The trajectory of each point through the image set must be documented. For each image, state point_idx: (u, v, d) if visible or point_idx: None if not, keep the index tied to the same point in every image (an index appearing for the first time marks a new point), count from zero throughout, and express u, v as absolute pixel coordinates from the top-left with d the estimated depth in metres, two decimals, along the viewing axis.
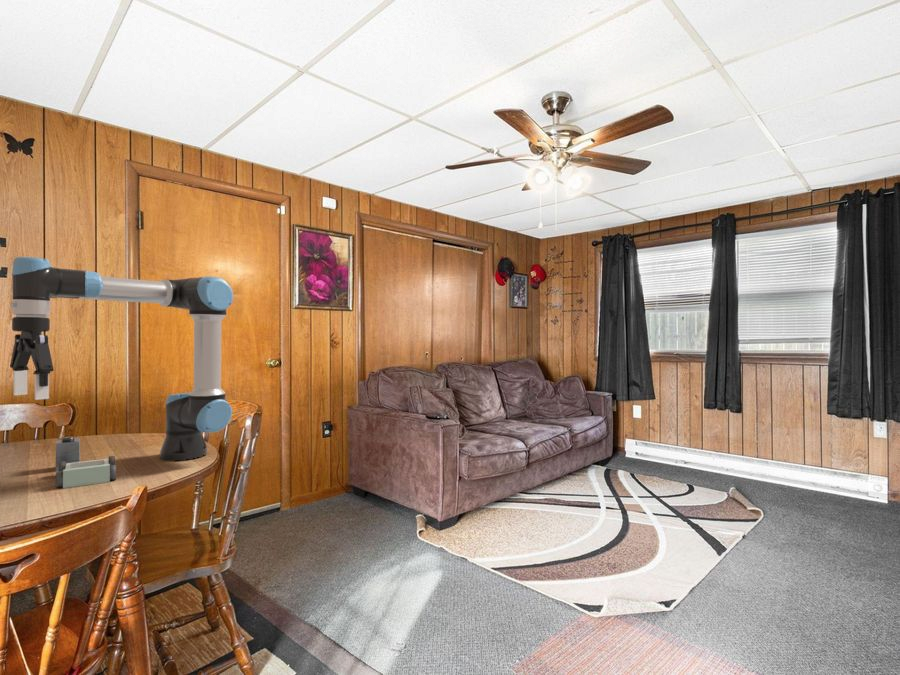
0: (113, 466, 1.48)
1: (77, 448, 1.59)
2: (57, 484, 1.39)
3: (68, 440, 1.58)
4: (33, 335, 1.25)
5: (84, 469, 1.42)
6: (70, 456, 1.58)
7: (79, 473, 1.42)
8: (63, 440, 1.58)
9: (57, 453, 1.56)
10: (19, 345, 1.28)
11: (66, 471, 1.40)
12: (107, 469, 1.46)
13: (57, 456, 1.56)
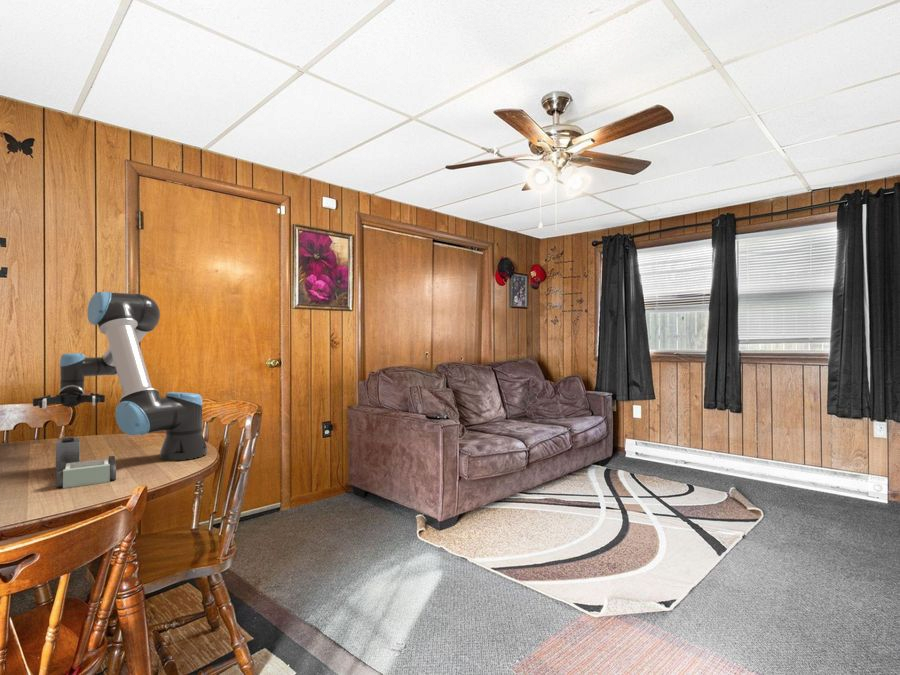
0: (113, 466, 1.48)
1: (77, 448, 1.59)
2: (57, 484, 1.39)
3: (68, 440, 1.58)
4: None
5: (84, 469, 1.42)
6: (70, 456, 1.58)
7: (79, 473, 1.42)
8: (63, 440, 1.58)
9: (57, 453, 1.56)
10: (78, 402, 1.79)
11: (66, 471, 1.40)
12: (107, 469, 1.46)
13: (57, 456, 1.56)
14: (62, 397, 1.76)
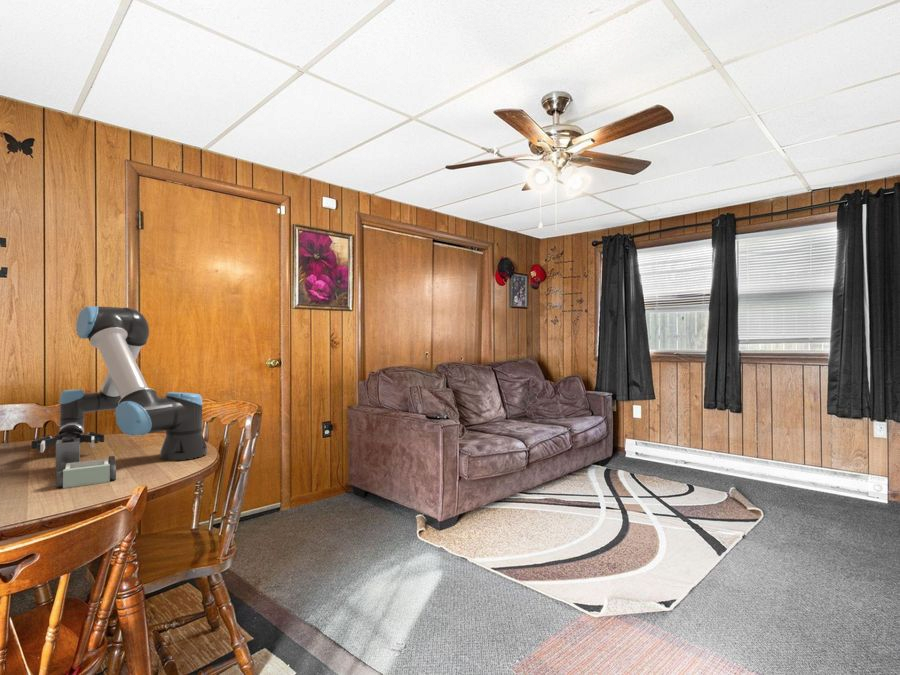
0: (113, 466, 1.48)
1: (77, 448, 1.59)
2: (57, 484, 1.39)
3: (68, 440, 1.58)
4: None
5: (84, 469, 1.42)
6: (70, 456, 1.58)
7: (79, 473, 1.42)
8: (63, 440, 1.58)
9: (57, 453, 1.56)
10: None
11: (66, 471, 1.40)
12: (107, 469, 1.46)
13: (57, 456, 1.56)
14: (61, 437, 1.74)
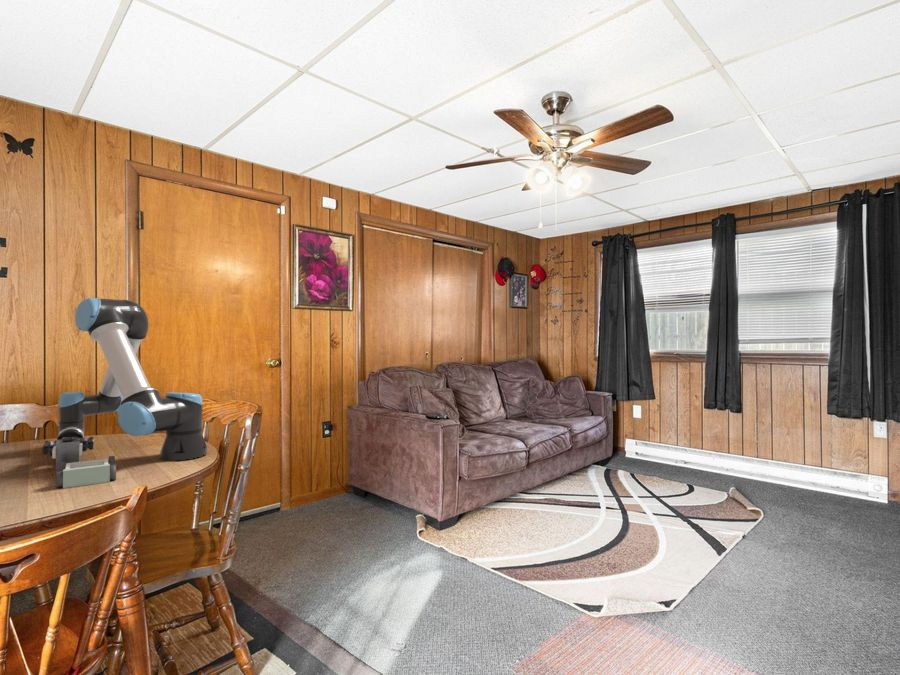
0: (113, 466, 1.48)
1: (77, 448, 1.59)
2: (57, 484, 1.39)
3: (68, 440, 1.58)
4: None
5: (84, 469, 1.42)
6: (70, 456, 1.58)
7: (79, 473, 1.42)
8: (63, 440, 1.58)
9: (57, 453, 1.56)
10: None
11: (66, 471, 1.40)
12: (107, 469, 1.46)
13: (57, 456, 1.56)
14: None
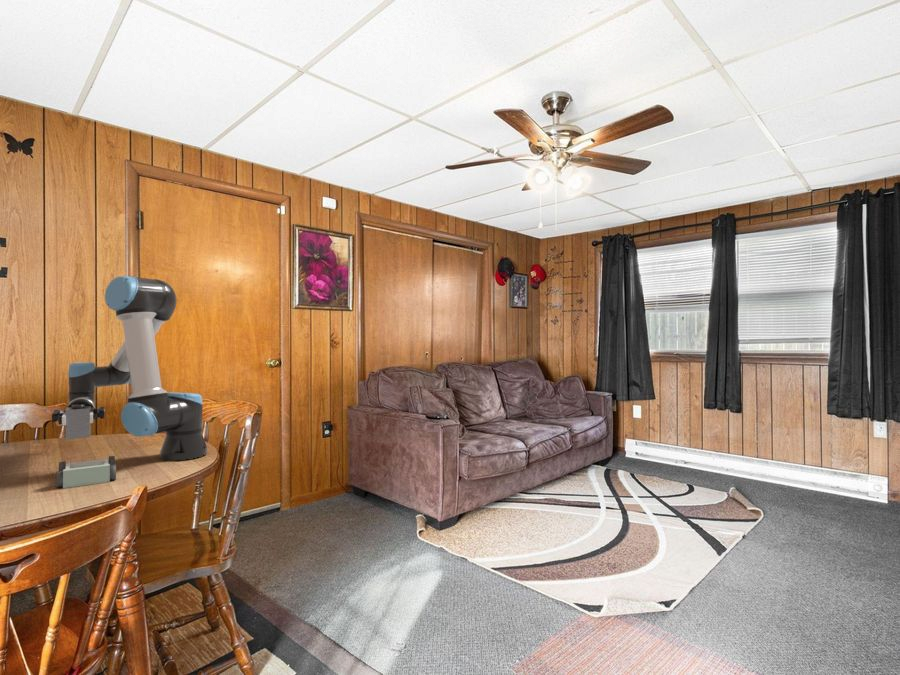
0: (113, 466, 1.48)
1: (88, 415, 1.51)
2: (57, 484, 1.39)
3: (78, 407, 1.51)
4: None
5: (84, 469, 1.42)
6: (81, 424, 1.50)
7: (79, 473, 1.42)
8: (73, 407, 1.51)
9: (67, 420, 1.48)
10: None
11: (66, 471, 1.40)
12: (107, 469, 1.46)
13: (67, 423, 1.48)
14: None
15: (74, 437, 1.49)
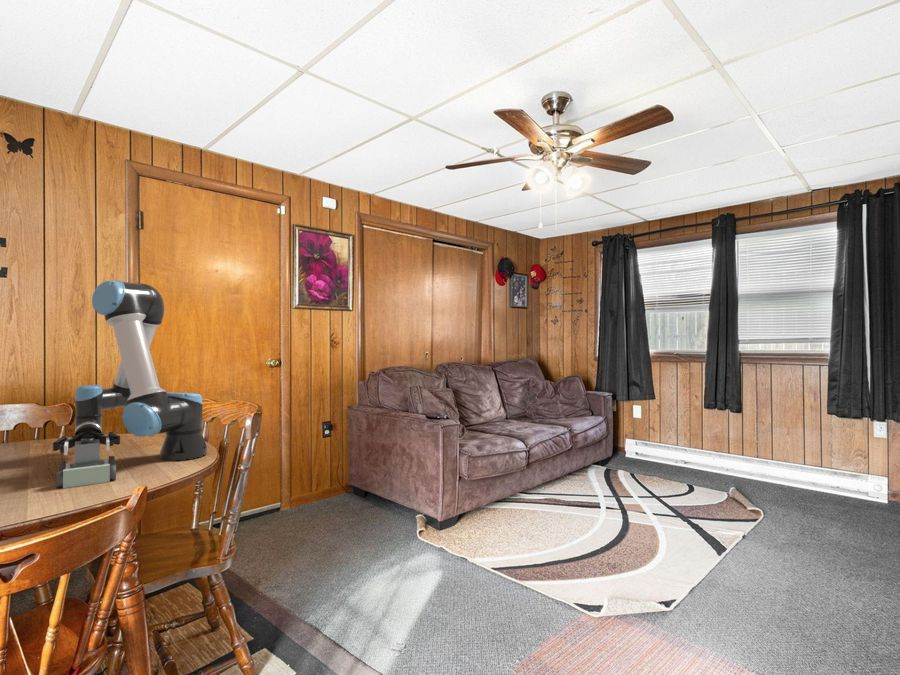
0: (113, 466, 1.48)
1: (97, 450, 1.49)
2: (57, 484, 1.39)
3: (88, 441, 1.48)
4: None
5: (84, 469, 1.42)
6: (90, 458, 1.48)
7: (79, 473, 1.42)
8: (82, 441, 1.48)
9: (76, 455, 1.46)
10: None
11: (66, 471, 1.40)
12: (107, 469, 1.46)
13: (76, 458, 1.46)
14: (80, 438, 1.56)
15: None
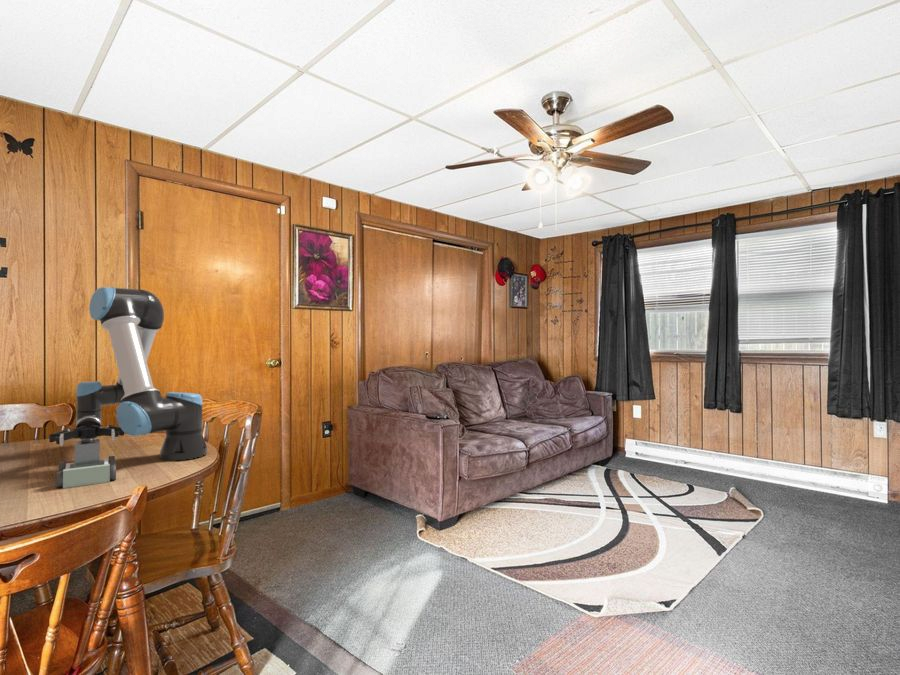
0: (113, 466, 1.48)
1: (97, 450, 1.49)
2: (57, 484, 1.39)
3: (88, 441, 1.48)
4: None
5: (84, 469, 1.42)
6: (90, 458, 1.48)
7: (79, 473, 1.42)
8: (82, 441, 1.48)
9: (76, 455, 1.46)
10: (96, 435, 1.70)
11: (66, 471, 1.40)
12: (107, 469, 1.46)
13: (76, 458, 1.46)
14: (79, 431, 1.66)
15: None
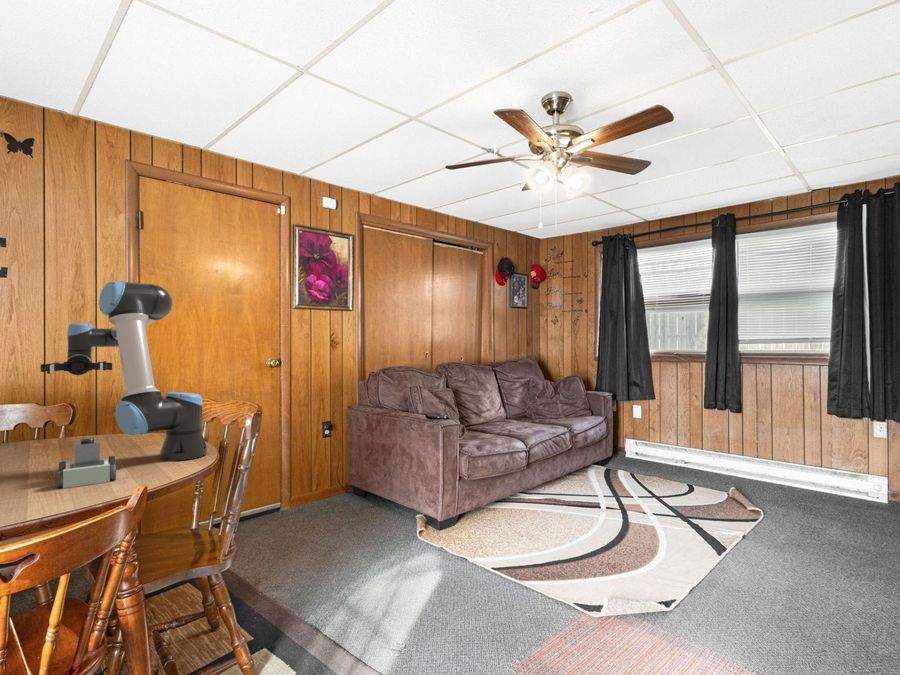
0: (113, 466, 1.48)
1: (97, 450, 1.49)
2: (57, 484, 1.39)
3: (88, 441, 1.48)
4: None
5: (84, 469, 1.42)
6: (90, 458, 1.48)
7: (79, 473, 1.42)
8: (82, 441, 1.48)
9: (76, 455, 1.46)
10: (85, 370, 1.79)
11: (66, 471, 1.40)
12: (107, 469, 1.46)
13: (76, 458, 1.46)
14: (70, 364, 1.75)
15: None
